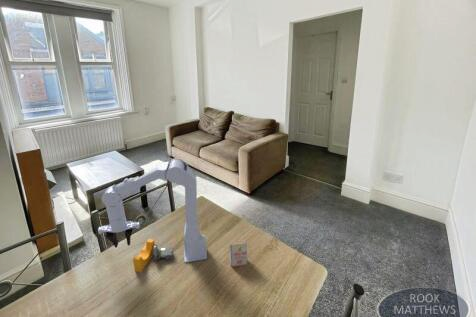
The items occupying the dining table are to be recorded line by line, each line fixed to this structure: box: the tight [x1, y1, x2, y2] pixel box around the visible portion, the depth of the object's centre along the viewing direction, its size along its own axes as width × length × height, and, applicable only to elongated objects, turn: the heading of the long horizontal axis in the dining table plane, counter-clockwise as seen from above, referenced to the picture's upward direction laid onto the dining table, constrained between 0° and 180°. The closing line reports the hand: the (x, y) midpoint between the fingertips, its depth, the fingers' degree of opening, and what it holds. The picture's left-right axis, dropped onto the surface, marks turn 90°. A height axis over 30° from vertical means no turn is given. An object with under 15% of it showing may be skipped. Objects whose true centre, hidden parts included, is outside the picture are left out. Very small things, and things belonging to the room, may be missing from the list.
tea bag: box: [229, 242, 248, 268], centre depth 99 cm, size 4×7×10 cm, turn 100°
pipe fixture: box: [153, 244, 173, 262], centre depth 102 cm, size 7×6×6 cm
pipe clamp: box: [132, 238, 156, 273], centre depth 100 cm, size 12×4×6 cm, turn 169°
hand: (122, 244), depth 96 cm, fingers open, 4 cm apart
